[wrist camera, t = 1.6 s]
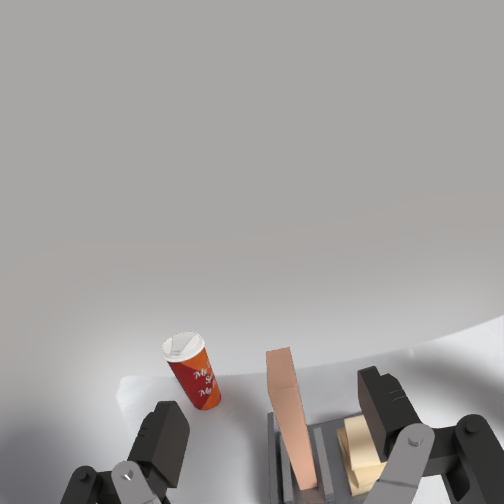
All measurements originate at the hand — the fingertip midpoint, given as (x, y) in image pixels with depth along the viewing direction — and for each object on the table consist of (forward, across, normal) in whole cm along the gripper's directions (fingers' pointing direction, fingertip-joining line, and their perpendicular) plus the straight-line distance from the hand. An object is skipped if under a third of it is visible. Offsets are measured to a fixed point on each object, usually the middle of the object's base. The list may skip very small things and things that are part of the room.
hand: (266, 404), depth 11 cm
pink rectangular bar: (+11, 0, +27) cm, 29 cm away
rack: (+11, -4, +28) cm, 30 cm away
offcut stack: (+11, -8, +26) cm, 30 cm away
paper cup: (+30, +17, +28) cm, 44 cm away
